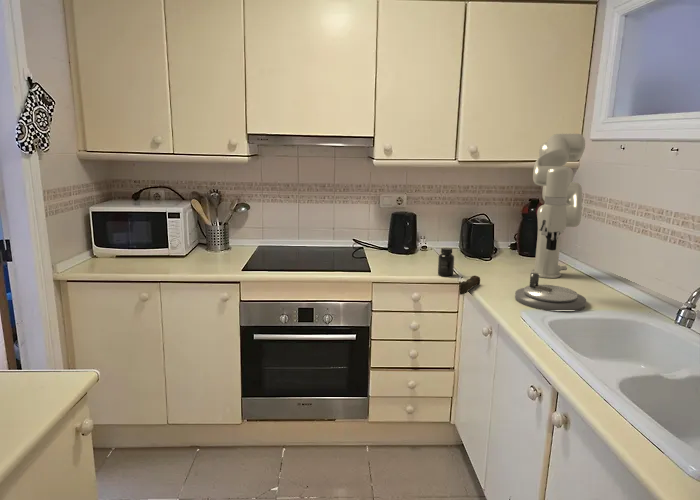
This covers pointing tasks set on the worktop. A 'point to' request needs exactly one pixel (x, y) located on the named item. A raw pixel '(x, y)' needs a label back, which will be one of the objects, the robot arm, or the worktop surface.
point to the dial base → (539, 304)
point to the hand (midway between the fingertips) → (550, 249)
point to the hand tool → (469, 284)
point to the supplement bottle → (446, 263)
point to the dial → (548, 291)
